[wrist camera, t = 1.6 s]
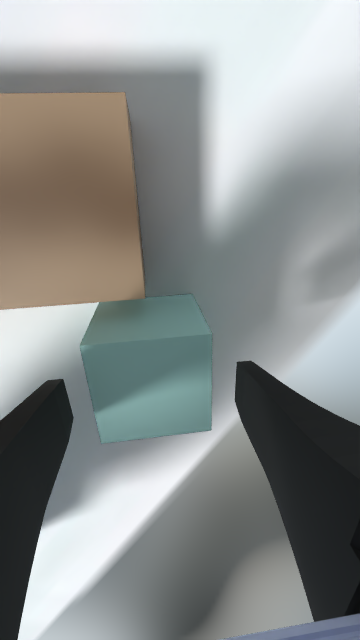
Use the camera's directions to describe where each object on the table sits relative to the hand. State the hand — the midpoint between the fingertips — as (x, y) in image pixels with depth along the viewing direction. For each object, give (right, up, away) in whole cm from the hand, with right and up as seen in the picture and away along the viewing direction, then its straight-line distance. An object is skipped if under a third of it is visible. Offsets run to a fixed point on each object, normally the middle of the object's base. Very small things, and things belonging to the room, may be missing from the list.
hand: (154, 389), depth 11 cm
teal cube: (-1, +2, +4) cm, 5 cm away
